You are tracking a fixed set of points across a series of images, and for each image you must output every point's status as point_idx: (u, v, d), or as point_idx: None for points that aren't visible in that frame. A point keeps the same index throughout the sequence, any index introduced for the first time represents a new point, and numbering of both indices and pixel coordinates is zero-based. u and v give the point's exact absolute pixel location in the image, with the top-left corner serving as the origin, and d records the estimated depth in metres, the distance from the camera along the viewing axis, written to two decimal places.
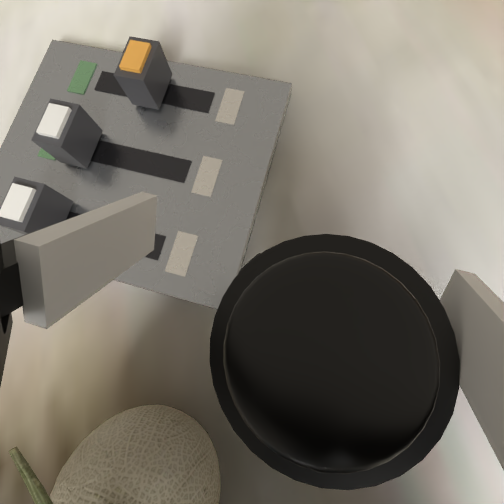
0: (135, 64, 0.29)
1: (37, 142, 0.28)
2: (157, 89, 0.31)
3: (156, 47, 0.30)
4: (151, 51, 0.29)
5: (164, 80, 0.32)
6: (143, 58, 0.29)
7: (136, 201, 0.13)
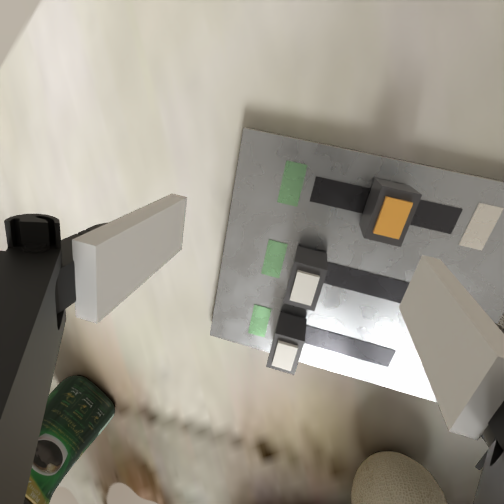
0: (394, 231, 0.25)
1: (288, 303, 0.30)
2: None
3: (417, 201, 0.24)
4: (411, 209, 0.24)
5: None
6: (404, 224, 0.25)
7: (169, 203, 0.13)
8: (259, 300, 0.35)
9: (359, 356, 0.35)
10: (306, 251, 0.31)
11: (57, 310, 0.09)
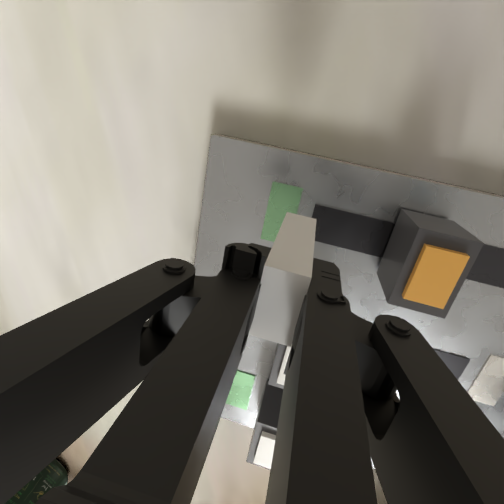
0: (436, 297, 0.16)
1: (275, 384, 0.21)
2: None
3: (476, 253, 0.15)
4: (465, 264, 0.16)
5: None
6: (453, 287, 0.16)
7: (296, 223, 0.14)
8: (239, 364, 0.26)
9: None
10: None
11: None
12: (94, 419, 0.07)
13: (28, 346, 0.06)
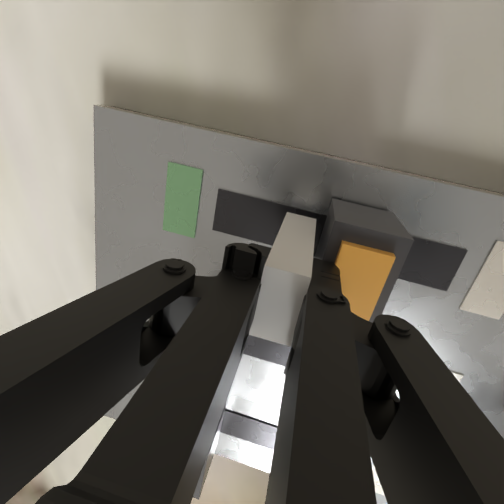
0: (359, 308, 0.13)
1: None
2: None
3: (405, 253, 0.12)
4: (393, 266, 0.12)
5: None
6: (378, 295, 0.13)
7: (296, 223, 0.14)
8: None
9: None
10: None
11: None
12: (93, 419, 0.07)
13: (28, 347, 0.06)
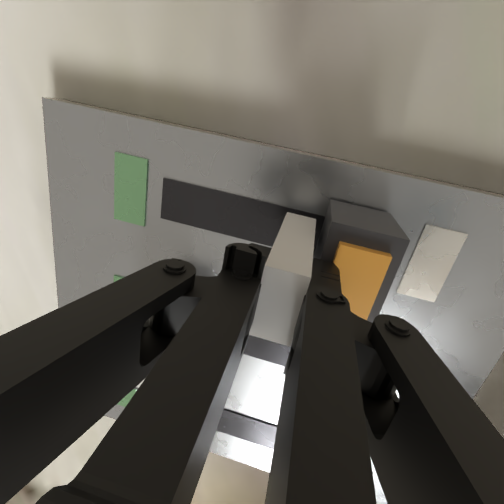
0: (357, 307, 0.13)
1: None
2: None
3: (402, 253, 0.12)
4: (390, 266, 0.13)
5: None
6: (375, 294, 0.13)
7: (296, 223, 0.14)
8: None
9: (267, 443, 0.24)
10: None
11: None
12: (94, 419, 0.07)
13: (29, 346, 0.06)
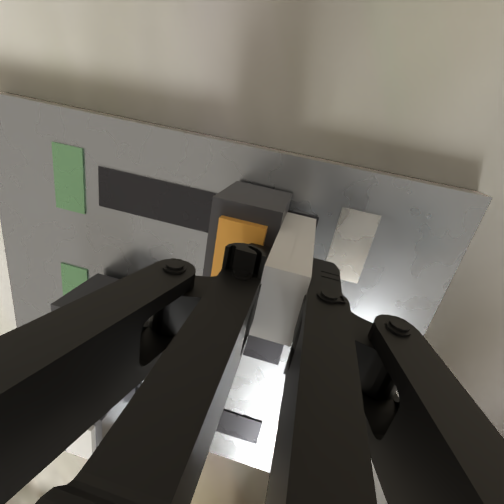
0: None
1: None
2: None
3: (278, 225, 0.13)
4: (269, 238, 0.13)
5: None
6: None
7: (296, 223, 0.14)
8: None
9: (217, 427, 0.25)
10: (102, 282, 0.20)
11: None
12: (94, 419, 0.07)
13: (29, 346, 0.06)
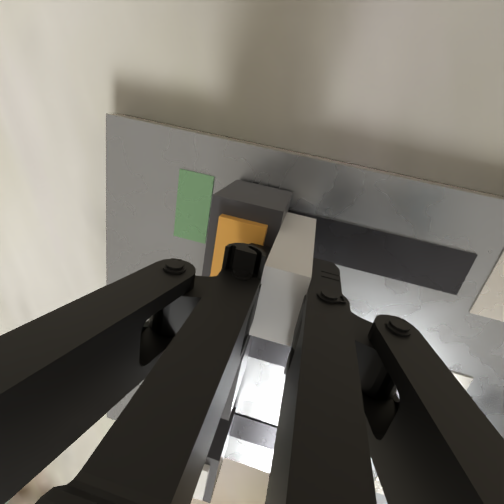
0: None
1: None
2: None
3: (278, 224, 0.13)
4: (269, 237, 0.13)
5: None
6: None
7: (296, 223, 0.14)
8: None
9: None
10: None
11: None
12: (93, 419, 0.07)
13: (28, 346, 0.06)
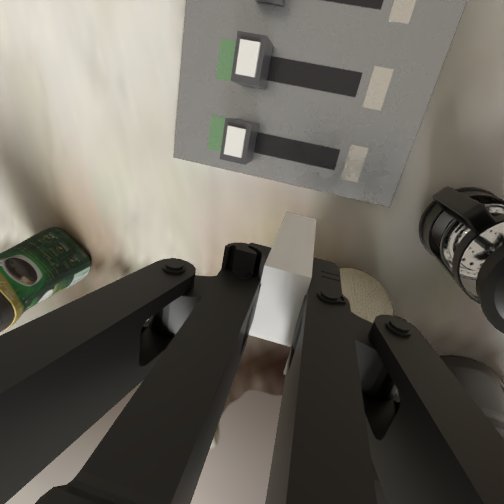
0: None
1: (235, 81, 0.33)
2: None
3: None
4: None
5: None
6: None
7: (296, 223, 0.14)
8: (216, 110, 0.38)
9: (308, 161, 0.38)
10: None
11: None
12: (93, 419, 0.07)
13: (28, 346, 0.06)
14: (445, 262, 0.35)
